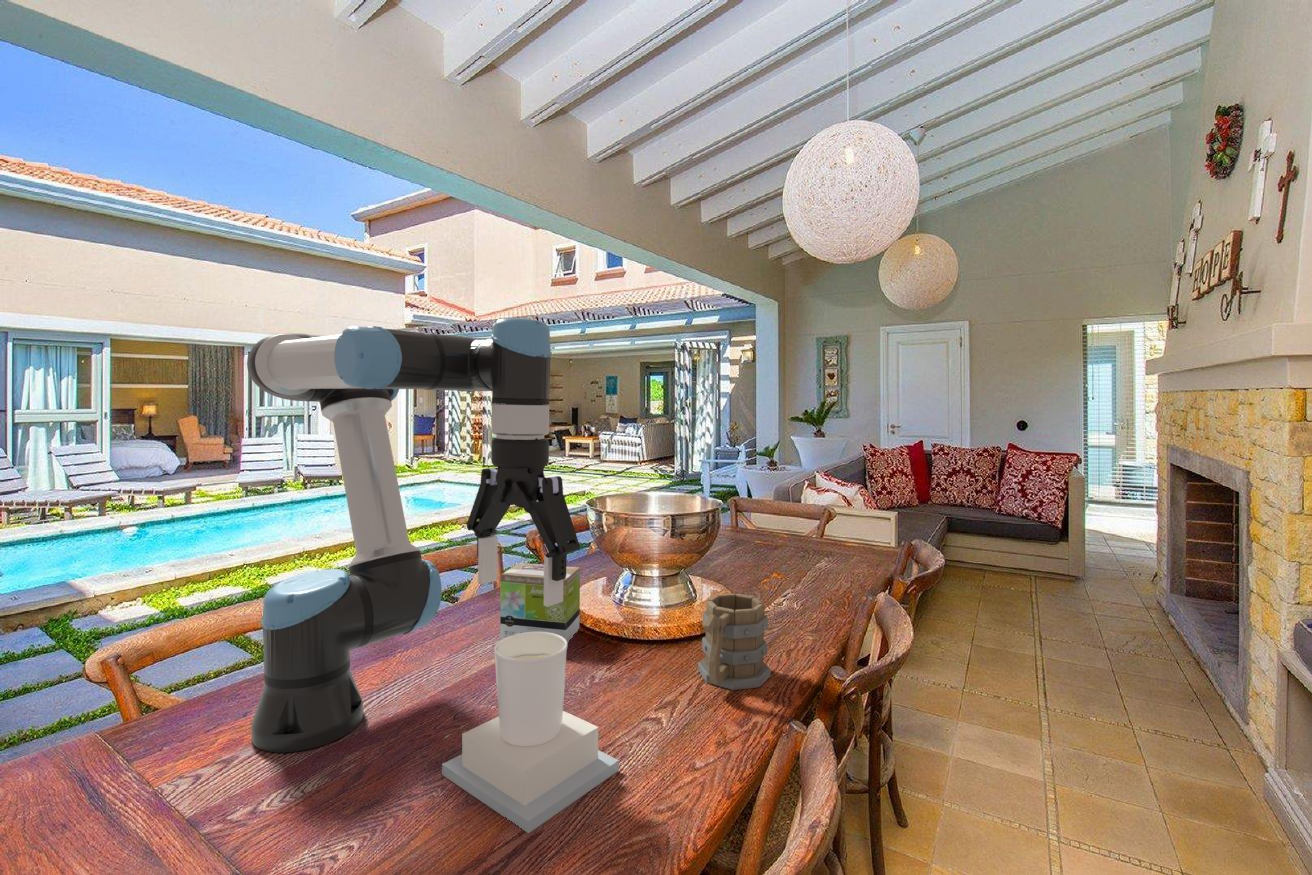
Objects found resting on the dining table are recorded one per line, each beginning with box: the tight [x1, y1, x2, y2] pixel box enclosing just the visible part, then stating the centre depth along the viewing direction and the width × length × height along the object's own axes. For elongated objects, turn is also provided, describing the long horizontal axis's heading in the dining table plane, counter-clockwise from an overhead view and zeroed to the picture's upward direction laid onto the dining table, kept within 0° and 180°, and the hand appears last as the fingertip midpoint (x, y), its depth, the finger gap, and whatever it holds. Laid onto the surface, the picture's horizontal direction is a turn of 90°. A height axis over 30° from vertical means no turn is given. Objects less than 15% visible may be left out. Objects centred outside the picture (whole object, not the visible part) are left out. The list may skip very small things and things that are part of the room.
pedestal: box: [441, 710, 620, 834], centre depth 84 cm, size 18×16×6 cm
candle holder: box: [493, 632, 568, 747], centre depth 83 cm, size 10×10×12 cm
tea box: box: [499, 562, 581, 644], centre depth 133 cm, size 15×10×15 cm
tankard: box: [697, 593, 771, 691], centre depth 112 cm, size 20×13×15 cm, turn 149°
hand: (518, 592), depth 83 cm, fingers open, 13 cm apart
